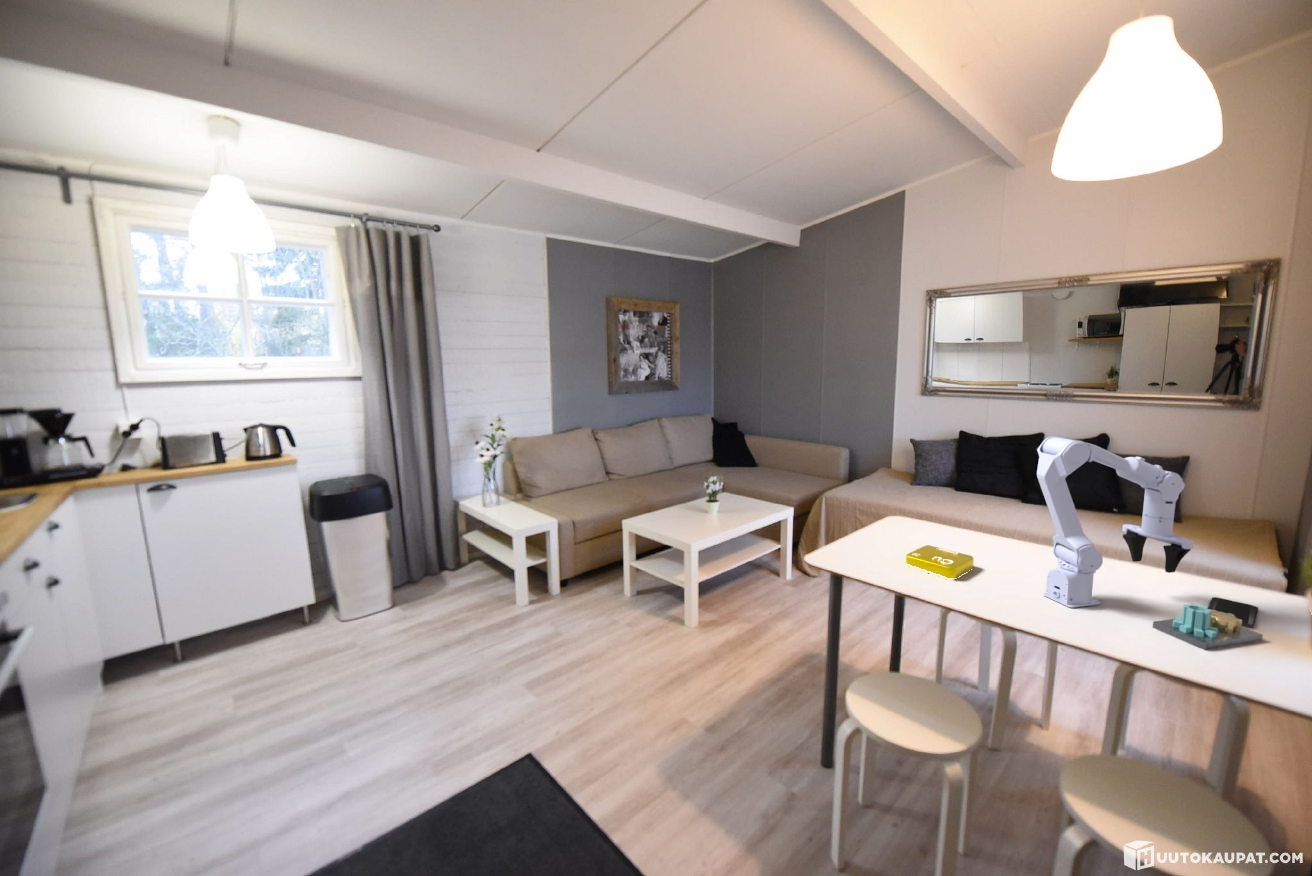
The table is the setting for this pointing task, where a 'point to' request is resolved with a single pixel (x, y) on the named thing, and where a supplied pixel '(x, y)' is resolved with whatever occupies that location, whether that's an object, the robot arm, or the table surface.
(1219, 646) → the carrier
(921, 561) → the element tile
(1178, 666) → the table surface
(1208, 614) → the gear
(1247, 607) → the phone
